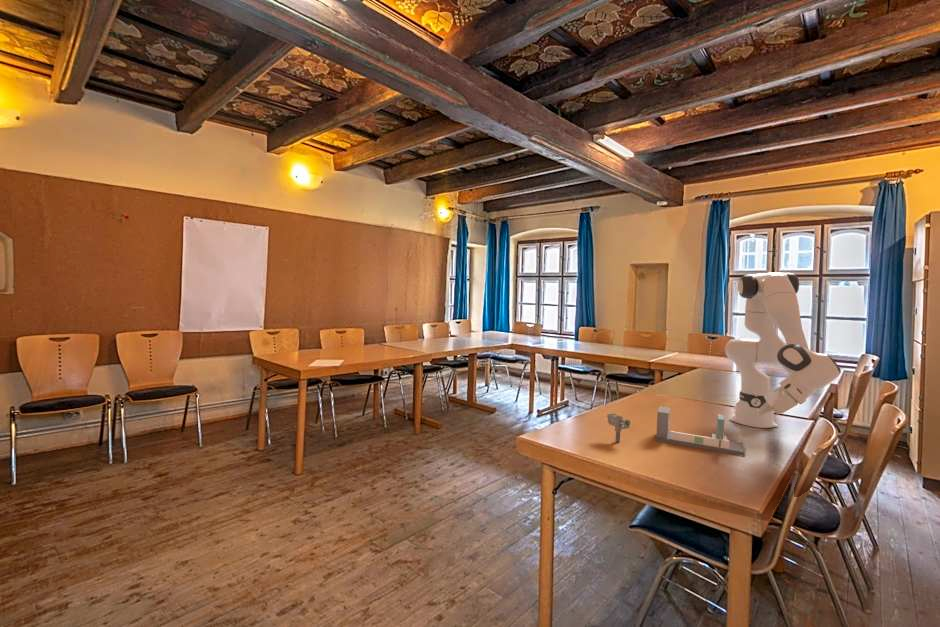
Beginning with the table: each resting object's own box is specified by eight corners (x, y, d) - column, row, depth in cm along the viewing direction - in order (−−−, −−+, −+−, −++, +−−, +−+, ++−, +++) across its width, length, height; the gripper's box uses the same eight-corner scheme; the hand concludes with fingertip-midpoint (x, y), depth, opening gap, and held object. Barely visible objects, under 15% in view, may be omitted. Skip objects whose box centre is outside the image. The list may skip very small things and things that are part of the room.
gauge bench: (658, 432, 183) (659, 405, 183) (742, 446, 169) (743, 417, 169) (655, 440, 173) (657, 412, 172) (744, 456, 159) (746, 425, 158)
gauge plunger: (711, 438, 172) (713, 413, 172) (726, 440, 170) (727, 415, 170) (712, 446, 163) (713, 419, 163) (727, 448, 161) (729, 422, 161)
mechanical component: (624, 446, 165) (626, 420, 164) (605, 438, 174) (606, 413, 174) (630, 445, 166) (631, 419, 166) (610, 437, 175) (611, 412, 175)
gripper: (781, 378, 166) (749, 400, 171) (791, 388, 148) (755, 411, 153) (794, 391, 164) (762, 413, 169) (806, 402, 146) (769, 426, 151)
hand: (758, 412), depth 161 cm, fingers closed
